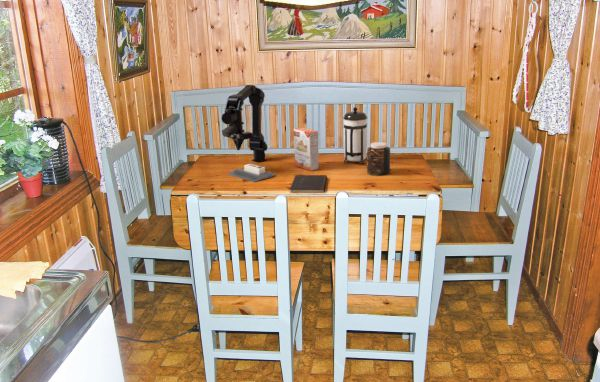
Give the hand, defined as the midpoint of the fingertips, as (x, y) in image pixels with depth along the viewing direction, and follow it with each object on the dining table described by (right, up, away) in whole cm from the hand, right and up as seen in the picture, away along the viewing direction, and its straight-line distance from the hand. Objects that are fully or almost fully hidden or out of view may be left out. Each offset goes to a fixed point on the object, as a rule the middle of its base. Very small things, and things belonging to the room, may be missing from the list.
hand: (238, 150), depth 293 cm
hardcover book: (+37, -19, -22) cm, 47 cm away
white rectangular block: (+9, -13, -5) cm, 16 cm away
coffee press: (+63, -6, +14) cm, 65 cm away
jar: (+72, -12, -6) cm, 74 cm away
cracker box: (+36, -9, +7) cm, 38 cm away
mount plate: (+7, -13, -3) cm, 15 cm away
